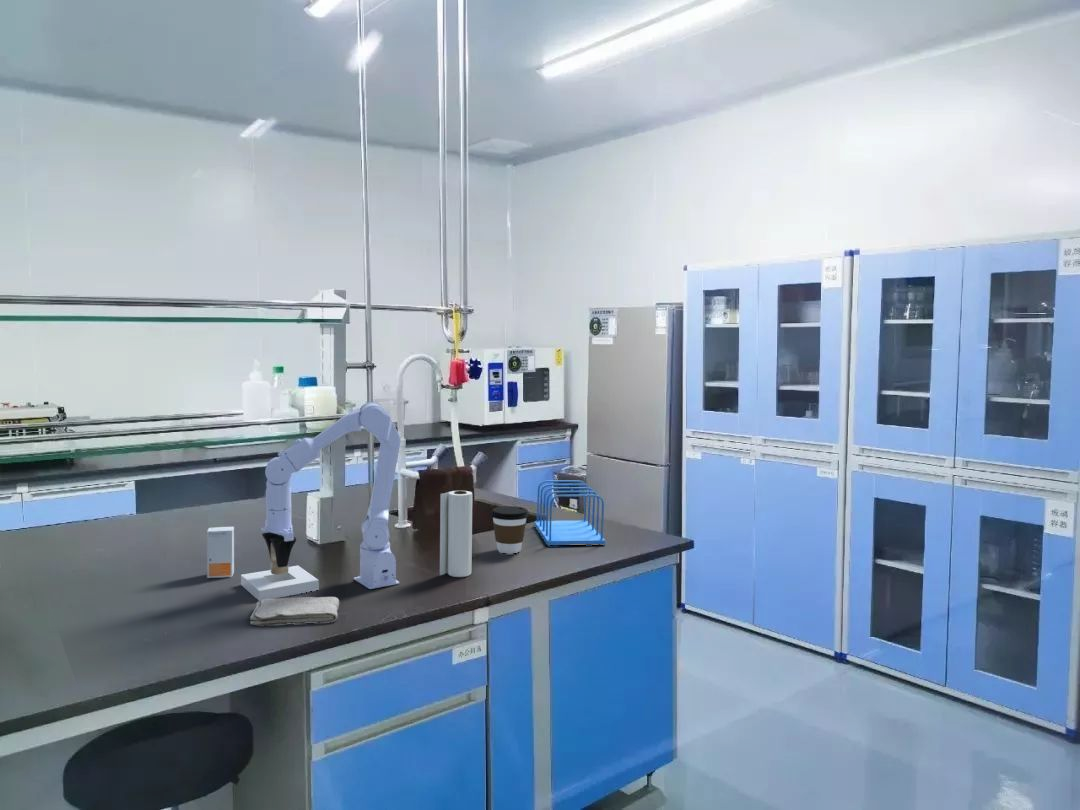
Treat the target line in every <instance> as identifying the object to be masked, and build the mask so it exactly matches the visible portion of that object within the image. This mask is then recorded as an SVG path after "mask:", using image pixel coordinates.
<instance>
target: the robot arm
mask: <svg viewBox="0 0 1080 810" xmlns="http://www.w3.org/2000/svg"><path fill="white" fill-rule="evenodd" d="M361 427H362V428H364V429H365V430H366V431H368V432H369V433H370V434H372V435H373V436H374V437H375V438H376V439H377V441H378V442H379V444H380V445H379V450H378V456H377V461H376V467H375V472H374V478H373V486H372V490H371V497H370V503H369V505H368V509H367V512H366V513H367V514H366V517H365V518H364V520H362V523H361V526H360V530H361V533H362V539H363V540H362V542H361V543H360V544H359V545H360V548H359V552H360V553H359V557H360V558H359V569H360V570H359V576H356V577H353V580H355V581H356V582H357V583H359V584H361V585H363V586H364V587H365V588H367V589H369V590H372V589H378V588H379V589H380V588H383V587H390V586H395V585H399V584H400V581H399V580H397V559H396V557H395V554H394V553H393V552H392V550H391V543H390V541H389V540H390V531H389V528H388V525H389V517H390V516H389V511H390V510H389V509H390V504H391V499H392V493H393V488H394V481H395V475H396V470H397V464H398V458H399V454H400V453H399V452H400V447H401V442H402V441H401V436H400V434H399V432H398V430H397V428H396V426H395V423H394V421H393V419H392V416H391V415H390V414H388V412H387V411H386V410H385V409H384V408H383V407H382V406H381V405H380V404H378V403H377V402H375V401H373V402H372V401H369V402H365V403H364V404H362V406H360V408H359V407H357V408H355V409H353V410H351V411H350V412H348V413H346V414H344V416H341V417H340V418H339V419H338V420H336V421H335V422H334V423H332V424H331V425H330V426H328V427H327V428H326V429H324V430H323V431H321V432H320V433H319V434H317V435H316V436H315V437H314V438H311V437H303V438H302V439H300V438H297V439H296V440H295V441H294V444H293V445H291V446H290V447H289V448H287V449H286V450H284V451H280V452H278V453H277V456H276V457H274V458H271V459H270V460H269V461H268V462H267V464H266V467H265V471H264V474H265V477H266V482H265V486H266V490H265V510H266V511H265V514H266V515H265V517H266V519H265V520H264V527H261V528H260V530H261V531H262V532H263V533H262V534H261V536H262V538H263V539H264V541H265V543H266V545H267V546H266V547H267V550H268V553H269V558H270V560H271V543H272V544H273V547H274V550H275V554H276V562H277V566H278V567H285V566H287V565H288V566H289V560H290V557H291V552H292V550H293V547H294V545H295V544H296V542H297V538H296V537H295V536H294V535H295V534H294V531H293V524H292V488H291V477H292V474H293V473H299V472H300V471H301V470H303V469H304V468H306V467H307V466H308V465H309V464H311V463H313V462H314V461H316V460H317V459H318V458H320V454H321V450H322V449H324V448H325V447H326V446H328V445H330V444H331V443H334V442H335V441H336V440H338V439H339V438H340V437H342V436H343V435H346V434H347V433H348V432H361V431H362V428H361Z"/></svg>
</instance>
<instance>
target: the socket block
mask: <svg viewBox="0 0 1080 810" xmlns="http://www.w3.org/2000/svg"><path fill="white" fill-rule="evenodd" d="M240 585H241V586H242V587H243V588H244V589H245V590H246V591H247V592H248V593H250V594H251V596H253V597H254V598H255V599H257V602H259V601H261V600H262V599H271V598H272V599H275V598H278V599H279V598H286V597H290V595H291V596H294V595H295V596H296V595H301V593H302V594H307V593H311V592H310V591H312V592H317V591H316V590H318V591H319V590H320V580H319V579H318V578H316V577H315V576H313V574H311V573H309V572H308V571H306V570H305V569H304V568H302V567H301V566H300V565H293V566H288V573H285V574H272V573H271V569H268V570H263V571H256V572H250V573H245V574H244V573H242V574H240ZM306 592H307V593H306Z"/></svg>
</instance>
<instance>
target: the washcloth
mask: <svg viewBox="0 0 1080 810" xmlns="http://www.w3.org/2000/svg"><path fill="white" fill-rule="evenodd" d="M255 605H256V606H255V608H254V610H253V612H252V613H251V616H250V617H249V618H250V619H249V620H250V625H252V626H260V627H262V626H263V627H264V625H266V626H285V625H284V624H287V623H291V624H292V623H305V622H320V623H319V624H331V623H334V622H336V620H337V619H338V610H339V607H340V600H339V598H338V597H336V596H319V597H317V596H315V597H314V596H303V597H300V596H299V597H298V596H297V597H280V598H275V599H272V598H271V599H262V600H261V601H257V602H256V603H255ZM330 622H331V623H330Z"/></svg>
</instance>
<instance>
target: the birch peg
mask: <svg viewBox="0 0 1080 810" xmlns="http://www.w3.org/2000/svg"><path fill="white" fill-rule="evenodd" d="M288 567H289V564H288V565H287V566H285V567H278V566H277V562H276V554H275V550H274V547H273V544H272V543H271V559H270V570H271V573H272V574H285V573H288Z"/></svg>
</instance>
